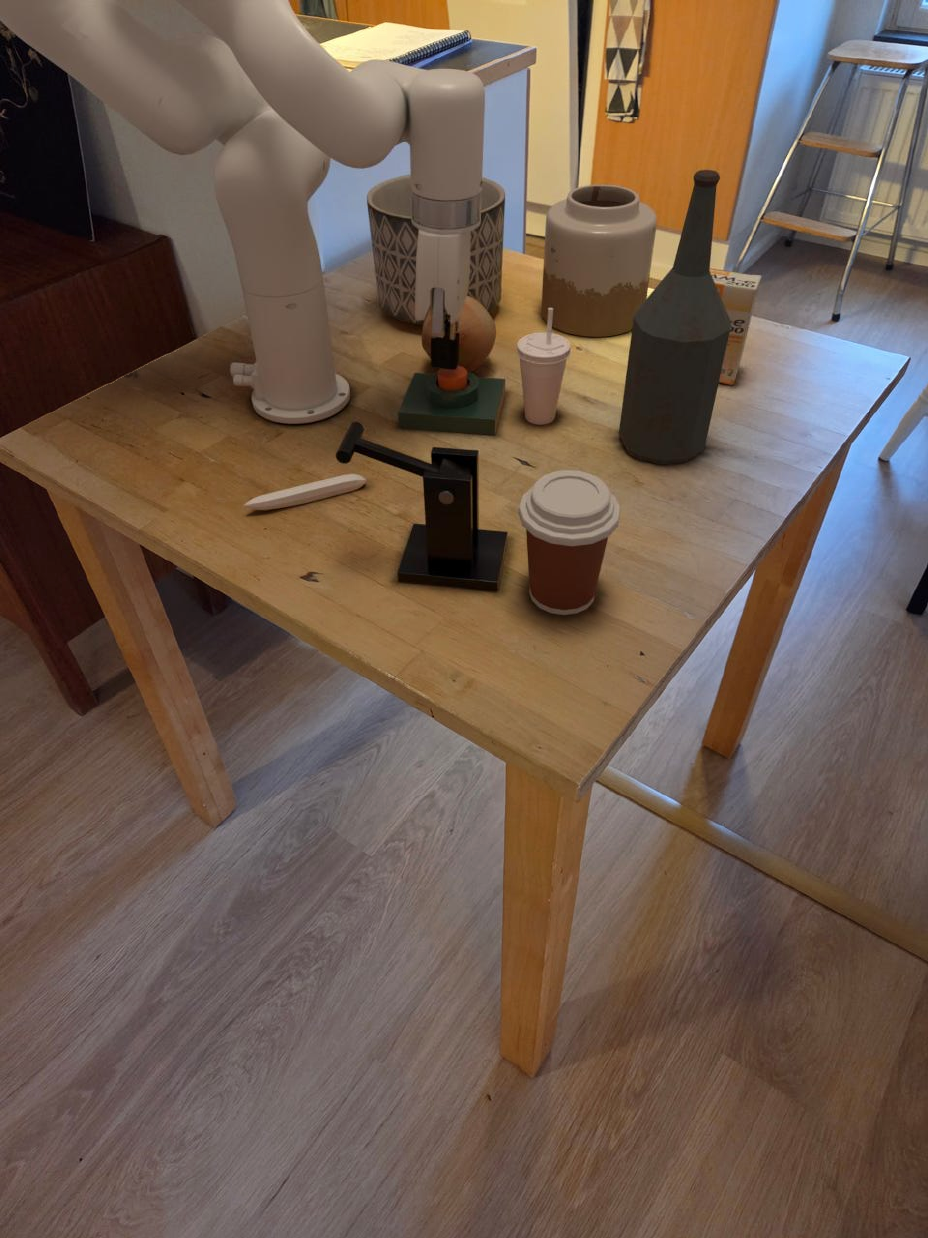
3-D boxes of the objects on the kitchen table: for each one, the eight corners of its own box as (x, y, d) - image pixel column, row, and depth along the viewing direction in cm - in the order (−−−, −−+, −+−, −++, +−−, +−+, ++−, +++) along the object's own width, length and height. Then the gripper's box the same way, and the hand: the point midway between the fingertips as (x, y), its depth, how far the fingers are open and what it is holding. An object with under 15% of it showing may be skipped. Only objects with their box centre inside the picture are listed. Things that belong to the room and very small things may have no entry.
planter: (504, 337, 122) (506, 217, 110) (371, 338, 122) (359, 219, 111) (502, 282, 136) (503, 170, 124) (382, 283, 136) (373, 172, 124)
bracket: (397, 581, 84) (388, 483, 76) (414, 532, 90) (407, 435, 82) (497, 591, 83) (499, 492, 75) (507, 540, 89) (510, 443, 80)
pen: (243, 511, 93) (240, 499, 92) (364, 480, 97) (362, 468, 96) (246, 519, 92) (243, 506, 91) (368, 487, 96) (367, 475, 95)
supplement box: (671, 376, 113) (688, 278, 104) (678, 360, 116) (695, 264, 107) (734, 387, 111) (756, 288, 102) (739, 370, 114) (762, 273, 105)
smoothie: (562, 432, 103) (570, 322, 94) (510, 427, 104) (513, 318, 95) (568, 406, 108) (576, 298, 98) (518, 401, 109) (522, 294, 99)
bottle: (653, 411, 107) (695, 149, 86) (720, 441, 101) (782, 170, 81) (601, 444, 101) (633, 173, 81) (669, 477, 96) (721, 197, 75)
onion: (507, 377, 113) (509, 304, 106) (438, 392, 111) (435, 318, 104) (479, 346, 120) (479, 275, 113) (413, 359, 117) (409, 288, 110)
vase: (617, 347, 119) (632, 223, 107) (522, 322, 125) (527, 202, 113) (659, 306, 128) (677, 188, 117) (569, 285, 134) (578, 171, 123)
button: (435, 391, 104) (435, 377, 103) (441, 376, 106) (440, 363, 105) (464, 392, 104) (464, 379, 102) (469, 378, 106) (469, 365, 105)
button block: (398, 428, 105) (396, 399, 102) (415, 387, 112) (413, 359, 109) (495, 435, 103) (495, 405, 100) (505, 394, 110) (505, 365, 108)
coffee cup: (559, 550, 87) (567, 450, 79) (628, 592, 83) (644, 492, 74) (496, 591, 83) (497, 491, 75) (565, 639, 78) (575, 537, 70)
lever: (333, 464, 77) (338, 443, 76) (347, 435, 81) (352, 414, 79) (457, 509, 79) (465, 490, 77) (465, 478, 82) (473, 459, 81)
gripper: (425, 181, 96) (426, 334, 109) (396, 230, 86) (401, 393, 98) (490, 187, 95) (483, 340, 108) (470, 236, 85) (465, 399, 98)
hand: (444, 365), depth 103 cm, fingers closed
